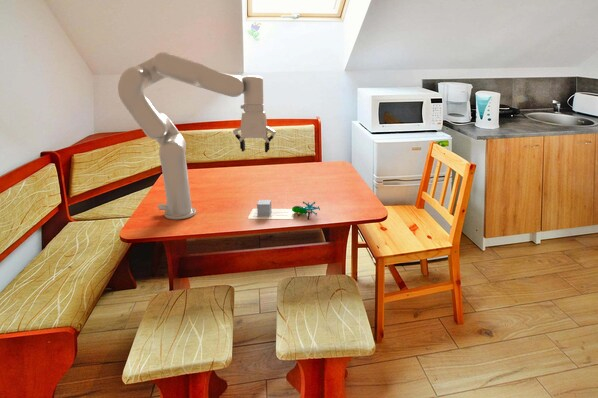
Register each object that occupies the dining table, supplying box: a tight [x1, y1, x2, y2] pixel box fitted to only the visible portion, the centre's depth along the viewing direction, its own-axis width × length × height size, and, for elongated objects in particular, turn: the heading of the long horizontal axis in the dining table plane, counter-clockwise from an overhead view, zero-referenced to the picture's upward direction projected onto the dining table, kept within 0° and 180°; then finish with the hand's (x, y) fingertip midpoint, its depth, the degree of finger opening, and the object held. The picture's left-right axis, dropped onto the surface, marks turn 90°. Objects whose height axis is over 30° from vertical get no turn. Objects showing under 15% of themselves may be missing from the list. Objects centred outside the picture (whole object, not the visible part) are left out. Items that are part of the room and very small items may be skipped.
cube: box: [256, 199, 273, 216], centre depth 171 cm, size 5×5×5 cm
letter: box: [247, 208, 295, 220], centre depth 172 cm, size 18×11×1 cm, turn 85°
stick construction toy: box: [291, 200, 321, 221], centre depth 168 cm, size 12×7×8 cm
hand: (254, 151), depth 171 cm, fingers open, 9 cm apart
